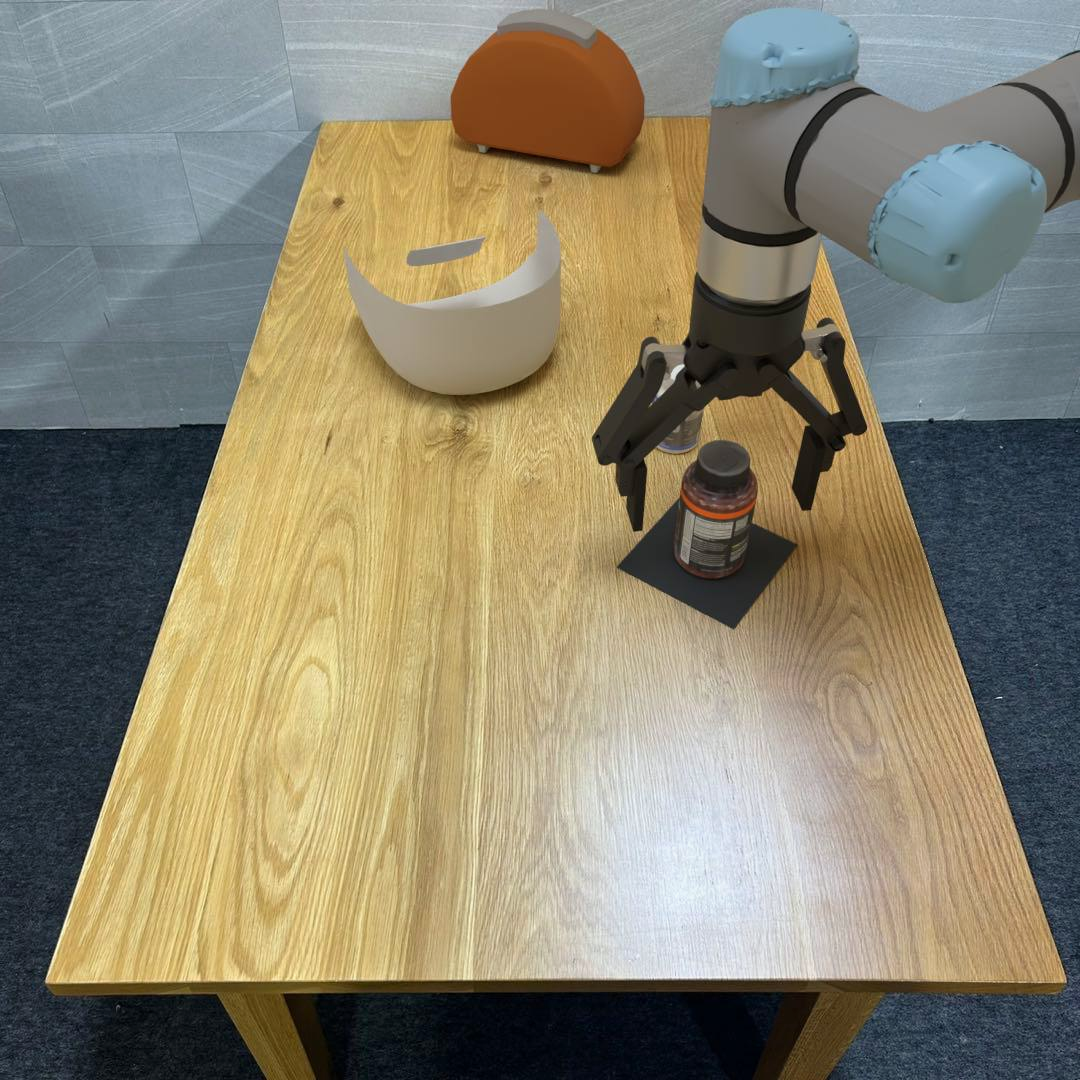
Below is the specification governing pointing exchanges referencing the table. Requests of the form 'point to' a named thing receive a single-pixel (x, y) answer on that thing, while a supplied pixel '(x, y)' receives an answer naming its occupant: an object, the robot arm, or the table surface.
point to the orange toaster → (549, 91)
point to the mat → (707, 595)
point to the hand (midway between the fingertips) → (718, 509)
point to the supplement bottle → (715, 510)
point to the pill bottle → (688, 430)
